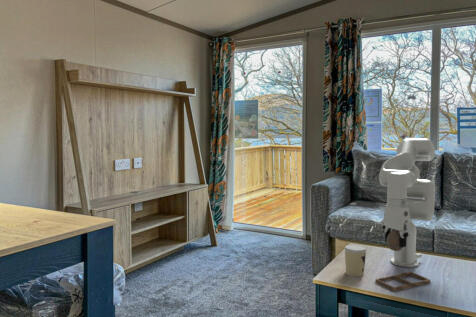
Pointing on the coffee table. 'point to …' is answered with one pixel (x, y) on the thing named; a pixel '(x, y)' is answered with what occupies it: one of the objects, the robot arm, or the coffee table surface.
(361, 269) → the coffee cup
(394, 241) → the vase
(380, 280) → the frame
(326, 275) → the coffee table surface
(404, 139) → the robot arm
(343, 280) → the coffee table surface
